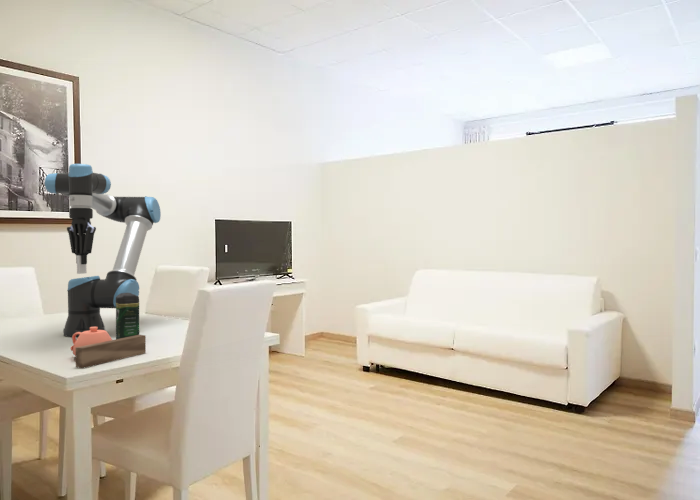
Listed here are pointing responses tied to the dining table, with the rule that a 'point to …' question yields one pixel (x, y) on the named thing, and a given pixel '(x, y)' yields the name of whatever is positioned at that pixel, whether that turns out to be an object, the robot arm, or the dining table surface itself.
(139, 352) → the board
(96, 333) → the sugar bowl
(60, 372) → the dining table surface
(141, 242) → the robot arm
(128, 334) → the coffee jar
